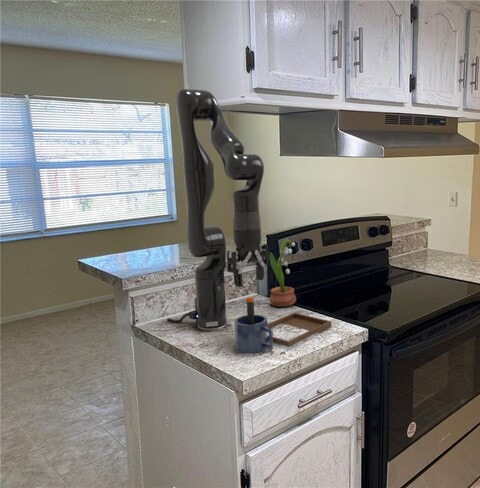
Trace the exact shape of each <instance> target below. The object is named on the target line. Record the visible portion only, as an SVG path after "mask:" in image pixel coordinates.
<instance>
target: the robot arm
mask: <svg viewBox="0 0 480 488" xmlns="http://www.w3.org/2000/svg"><path fill="white" fill-rule="evenodd" d="M175 104H176V105H175V106H176V114H177V121H178V127H179V133H180V139H181V140H180V141H181V150H182V162H183V177H184V188H185V198H186V244H187V248H188V251H189V253H190V255H191V256H192V257H193V258H197V259H199V258H204V257H205V258H204V259H203V261H202V262H201V263H200V264H198V265H197V266H196V267H195V268H194V280H195V281H194V282H195V284H194V285H195V298H194V309H193V310H191V311H188V312H187V313H185V314H183V315H182V316H181V317H180V318H179V319H173V318H167V319H166V321H167V322H171V323H175V324H177V323H181V322H183V320H184V319H185V318H186V317H188V318H189V319H191V320H194V321H195V327H197V328H198V330H200V331H206V332H213V331H214V330H219V329H222V328H225V327H227V326H228V322H227V303H226V286H225V270H226V272H227V273H231V274H233V284H234V286H235V287H236V288H237V287H238V288H242V287H243V274H242V273H243V270H244V268H245V267H247V265H248V264H250V263H254V265H255V266H256V267H255V275H256V276H255V278H256V280H258V281H263V280H264V278H265V266H266V265H268V264H269V263H270V257H269V245H268V244H267V243H264V242H263V243H262V225H261V213H260V201H259V198H260V192H261V187H262V183H263V178H264V173H265V166H264V162H263V159H262V158H261V156H260V155H258V154H256V153H244V152H245V147H244V145H243V143H242V142H241V140H240V139H239V137H238V136H237V135H236V134H235V133H234V131H233V130H232V128H231V127H230V125H229V124H228V123H229V122H228V121H227V119H226V117H225V115H224V112H223V111H222V109H221V107H220V104H219V103H218V100H217V99H216V97H215V96H214V94H213V93H212V92H211V91H209V90H206V89H194V88H193V89H192V88H181V89H179V90H178V91H177V95H176V99H175ZM206 121H207V122H208V123H209V124H210V125H211V128H210V132H209V138H210V139H209V140H210V143H211V145H212V146H213V148H214V149H215V150H216V152H217V154H218V155H219V156H220V158H221V159H220V160H221V162H222V166H223V168H224V173H225V175H226V176H227V177H228V178H229V179H230V180H232V181H236V182H238V181H245V185H244V186H243V187H241V188H238V189H236V190H234V191H233V193H232V206H233V207H232V208H233V214H232V215H233V216H232V225H233V242H234V243H233V244H234V245H235V246H236V248H235V250H227V242H226V241H227V240H226V235H225V233H224V231H223V229H222V228H221V227H219V226H217V225H209V226H205V216H206V215H205V213H206V209H207V207H208V205H209V203H210V200H211V198H212V196H213V194H214V190H215V189H216V188H215V187H216V174H215V164H214V161H213V159H212V158H211V156H210V154H209V153H208V151H207V150H206V149H205V147H204V145H203V144H202V143H201V141H200V139H199V137H198V133H197V131H196V126H195V122H206Z"/></svg>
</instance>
